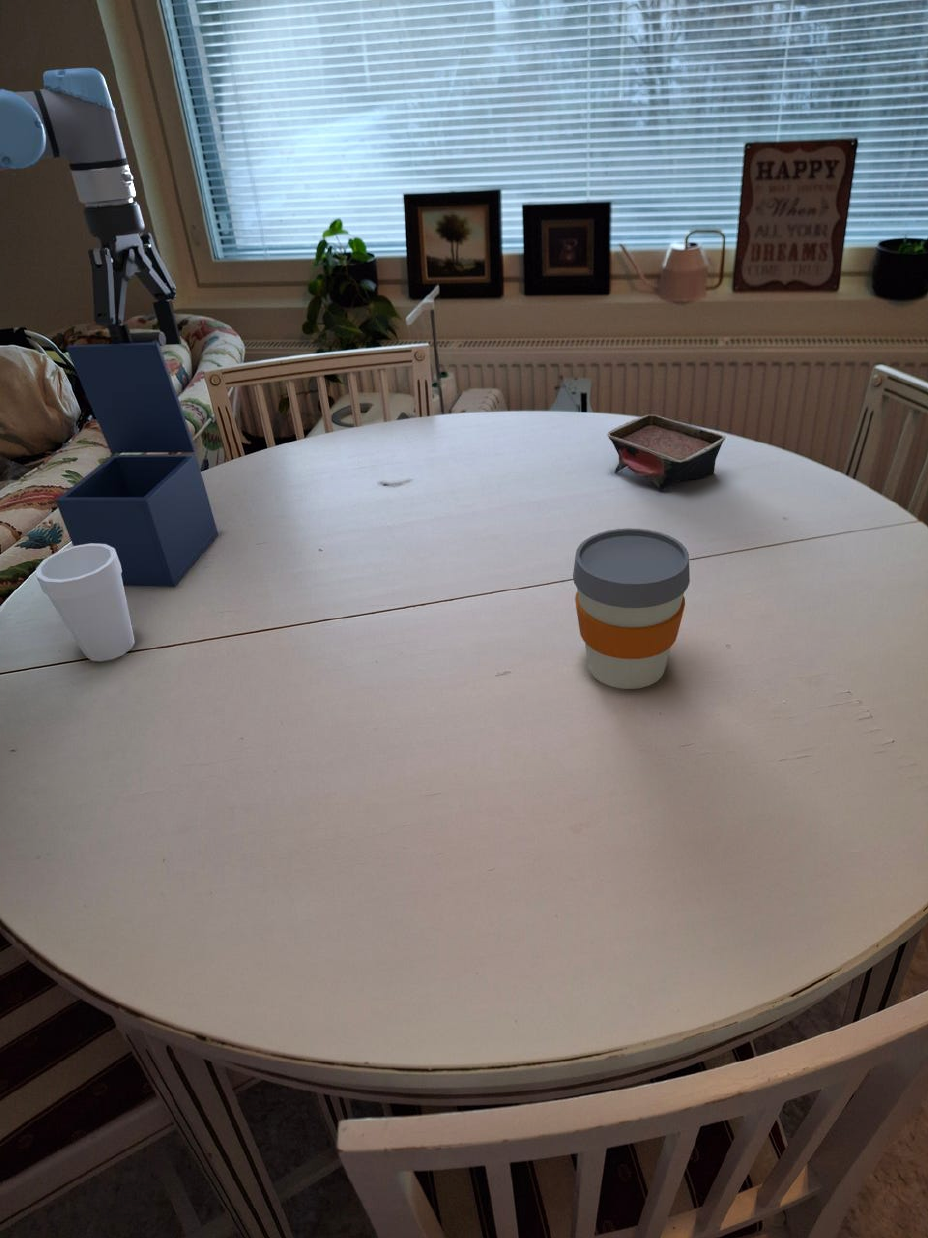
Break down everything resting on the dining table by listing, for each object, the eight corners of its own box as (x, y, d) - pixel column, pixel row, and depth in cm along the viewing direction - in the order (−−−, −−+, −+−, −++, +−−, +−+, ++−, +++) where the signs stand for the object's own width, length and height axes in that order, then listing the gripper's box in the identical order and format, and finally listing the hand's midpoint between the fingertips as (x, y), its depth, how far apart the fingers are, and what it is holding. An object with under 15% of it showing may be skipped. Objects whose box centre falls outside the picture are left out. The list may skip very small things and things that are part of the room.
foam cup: (160, 629, 109) (131, 545, 101) (121, 671, 101) (87, 584, 94) (99, 624, 111) (66, 541, 103) (57, 665, 103) (18, 579, 96)
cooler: (174, 586, 118) (146, 500, 110) (88, 584, 120) (54, 500, 112) (218, 534, 131) (196, 453, 123) (139, 533, 133) (112, 454, 125)
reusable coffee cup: (551, 673, 94) (550, 563, 86) (608, 623, 102) (612, 517, 94) (646, 714, 87) (654, 598, 79) (700, 656, 95) (712, 545, 87)
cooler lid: (156, 344, 111) (182, 320, 118) (65, 347, 114) (95, 323, 120) (194, 452, 122) (215, 424, 129) (110, 453, 125) (136, 425, 131)
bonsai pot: (663, 512, 130) (679, 457, 123) (592, 464, 141) (602, 410, 134) (724, 492, 136) (741, 438, 130) (651, 447, 147) (664, 396, 141)
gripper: (86, 214, 101) (135, 382, 113) (174, 189, 121) (209, 333, 133) (32, 217, 102) (87, 382, 114) (129, 192, 122) (167, 334, 134)
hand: (153, 356), depth 124 cm, fingers open, 13 cm apart
